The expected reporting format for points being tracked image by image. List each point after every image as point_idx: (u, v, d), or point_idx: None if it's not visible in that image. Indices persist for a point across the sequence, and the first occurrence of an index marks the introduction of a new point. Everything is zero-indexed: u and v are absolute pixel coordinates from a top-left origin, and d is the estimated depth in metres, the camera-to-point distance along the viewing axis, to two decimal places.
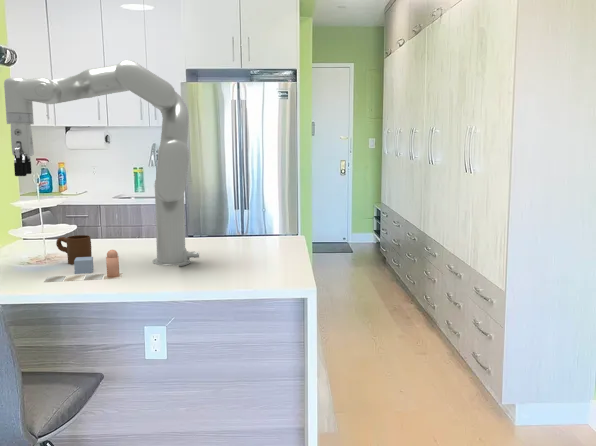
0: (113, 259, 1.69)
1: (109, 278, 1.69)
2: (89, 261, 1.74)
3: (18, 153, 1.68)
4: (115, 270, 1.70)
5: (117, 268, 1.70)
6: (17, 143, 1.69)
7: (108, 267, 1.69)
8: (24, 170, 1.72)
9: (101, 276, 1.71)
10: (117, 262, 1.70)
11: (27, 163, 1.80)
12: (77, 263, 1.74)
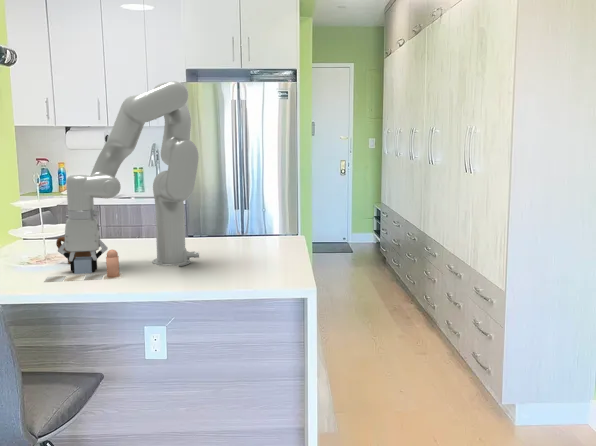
0: (113, 259, 1.69)
1: (109, 278, 1.69)
2: (89, 261, 1.74)
3: (104, 251, 1.78)
4: (115, 270, 1.70)
5: (117, 268, 1.70)
6: (100, 240, 1.76)
7: (108, 267, 1.69)
8: None
9: (101, 276, 1.71)
10: (117, 262, 1.70)
11: None
12: (77, 263, 1.74)
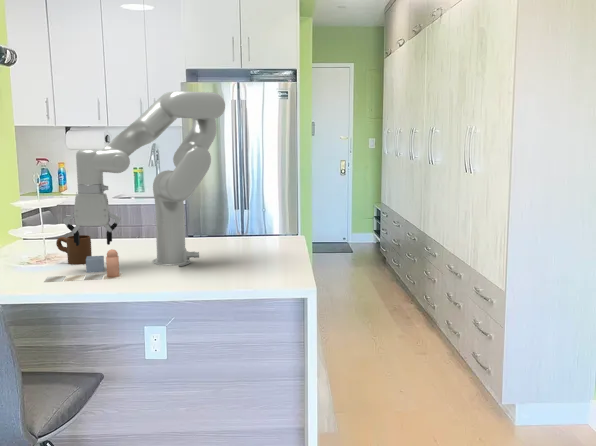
0: (113, 259, 1.69)
1: (109, 278, 1.69)
2: (101, 260, 1.76)
3: None
4: (115, 270, 1.70)
5: (117, 268, 1.70)
6: (110, 212, 1.77)
7: (108, 267, 1.70)
8: None
9: (101, 276, 1.71)
10: (117, 262, 1.70)
11: (78, 234, 1.76)
12: (89, 262, 1.75)
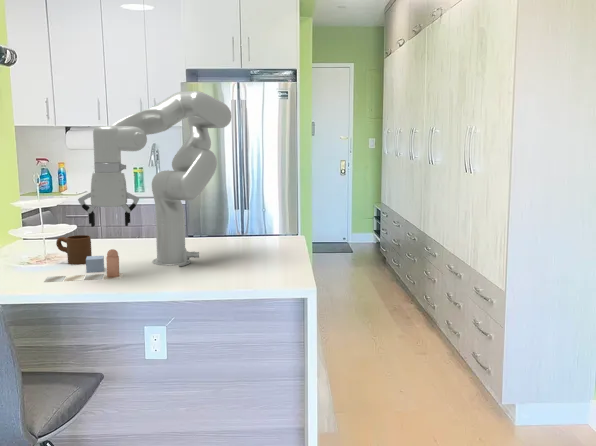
0: (113, 258, 1.69)
1: (109, 278, 1.69)
2: (101, 260, 1.76)
3: (137, 202, 1.70)
4: (115, 270, 1.70)
5: (117, 268, 1.70)
6: None
7: (108, 266, 1.70)
8: None
9: (101, 276, 1.71)
10: (117, 262, 1.70)
11: (94, 214, 1.68)
12: (89, 262, 1.75)
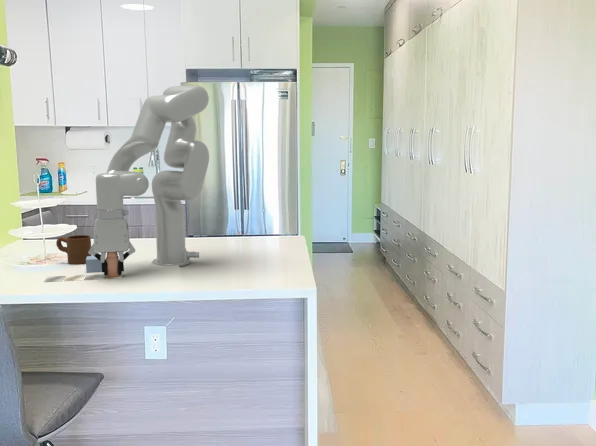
0: (112, 259, 1.69)
1: (109, 278, 1.69)
2: None
3: None
4: (114, 270, 1.70)
5: (116, 268, 1.70)
6: (129, 241, 1.71)
7: (107, 267, 1.70)
8: None
9: (101, 276, 1.71)
10: (116, 262, 1.70)
11: None
12: (89, 262, 1.75)
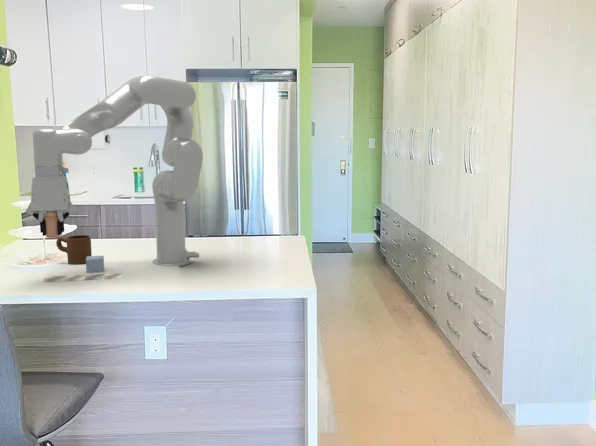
0: (51, 218, 1.63)
1: (109, 278, 1.69)
2: (101, 260, 1.76)
3: None
4: (53, 230, 1.64)
5: (55, 228, 1.64)
6: (69, 200, 1.65)
7: (46, 227, 1.64)
8: None
9: (101, 276, 1.71)
10: (55, 222, 1.64)
11: None
12: (89, 262, 1.75)
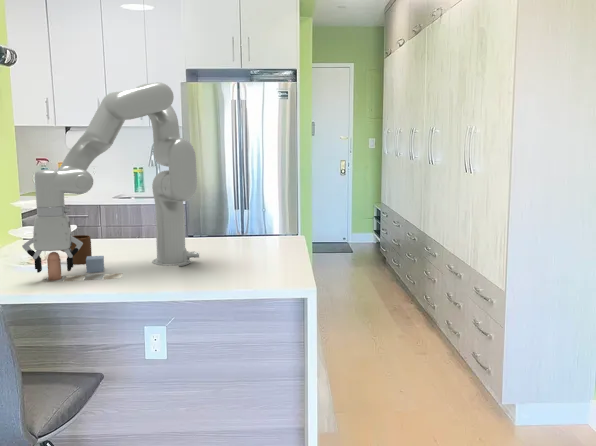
0: (53, 262, 1.65)
1: (109, 278, 1.69)
2: (101, 260, 1.76)
3: (80, 247, 1.68)
4: (56, 273, 1.66)
5: (58, 271, 1.66)
6: (72, 236, 1.67)
7: (48, 270, 1.66)
8: None
9: (101, 276, 1.71)
10: (58, 265, 1.66)
11: (40, 259, 1.66)
12: (89, 262, 1.75)
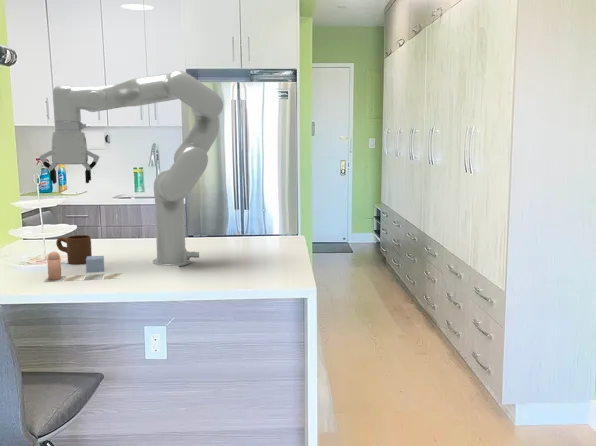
0: (53, 261, 1.65)
1: (109, 278, 1.69)
2: (101, 260, 1.76)
3: (97, 160, 1.77)
4: (56, 273, 1.66)
5: (58, 271, 1.66)
6: (88, 151, 1.75)
7: (48, 269, 1.66)
8: None
9: (101, 276, 1.71)
10: (58, 265, 1.66)
11: (55, 172, 1.75)
12: (89, 262, 1.75)
